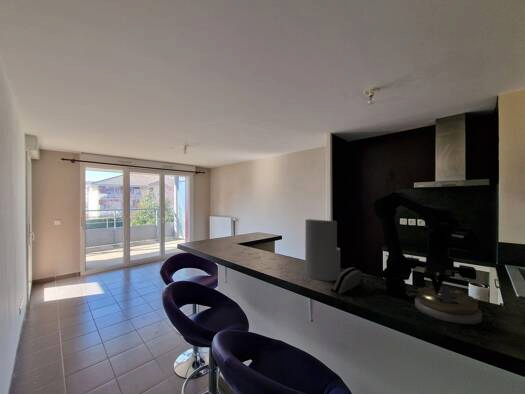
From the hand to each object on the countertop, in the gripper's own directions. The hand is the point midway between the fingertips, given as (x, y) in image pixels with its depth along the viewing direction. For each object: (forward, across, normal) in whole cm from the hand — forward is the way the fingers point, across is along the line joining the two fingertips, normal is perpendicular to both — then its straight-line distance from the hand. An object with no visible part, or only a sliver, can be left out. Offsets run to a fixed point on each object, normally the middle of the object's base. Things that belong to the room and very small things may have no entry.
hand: (437, 293), depth 78 cm
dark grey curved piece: (+8, -31, +6) cm, 33 cm away
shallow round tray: (+5, +2, +6) cm, 8 cm away
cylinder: (+8, -48, +16) cm, 51 cm away
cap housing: (+7, +2, +6) cm, 10 cm away
